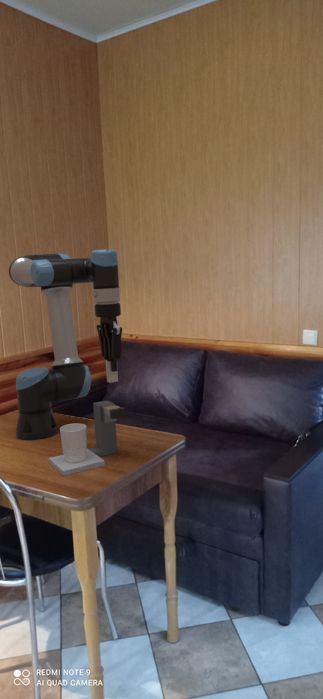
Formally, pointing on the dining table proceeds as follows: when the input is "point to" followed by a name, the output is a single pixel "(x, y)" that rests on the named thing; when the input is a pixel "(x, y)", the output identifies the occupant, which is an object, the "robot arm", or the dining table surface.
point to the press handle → (112, 413)
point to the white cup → (74, 442)
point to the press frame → (104, 446)
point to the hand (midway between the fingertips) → (112, 381)
